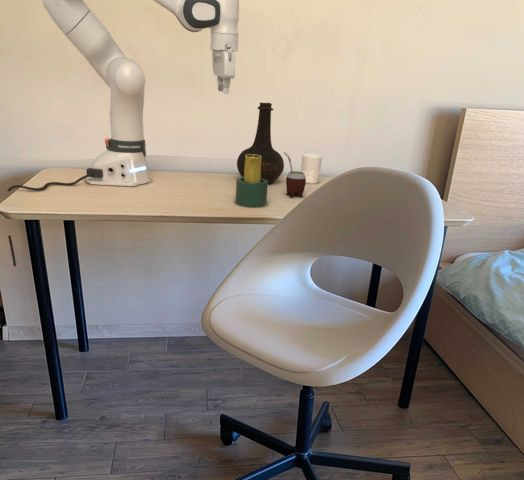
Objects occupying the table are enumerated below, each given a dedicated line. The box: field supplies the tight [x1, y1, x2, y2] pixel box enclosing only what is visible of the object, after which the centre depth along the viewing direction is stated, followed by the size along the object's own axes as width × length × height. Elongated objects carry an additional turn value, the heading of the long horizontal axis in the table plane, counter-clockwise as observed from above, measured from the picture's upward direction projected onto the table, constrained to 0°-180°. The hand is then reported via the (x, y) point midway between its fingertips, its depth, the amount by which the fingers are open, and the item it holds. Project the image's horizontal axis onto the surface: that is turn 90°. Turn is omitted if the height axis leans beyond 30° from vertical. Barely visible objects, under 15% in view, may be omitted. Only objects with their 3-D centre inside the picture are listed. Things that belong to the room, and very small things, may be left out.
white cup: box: [300, 153, 323, 185], centre depth 202 cm, size 8×8×10 cm
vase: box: [244, 154, 261, 183], centre depth 166 cm, size 6×6×14 cm
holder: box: [235, 176, 269, 208], centre depth 168 cm, size 10×10×8 cm
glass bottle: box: [236, 102, 285, 185], centre depth 192 cm, size 18×18×28 cm
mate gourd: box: [283, 151, 307, 199], centre depth 178 cm, size 8×8×15 cm
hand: (223, 92), depth 171 cm, fingers open, 8 cm apart
